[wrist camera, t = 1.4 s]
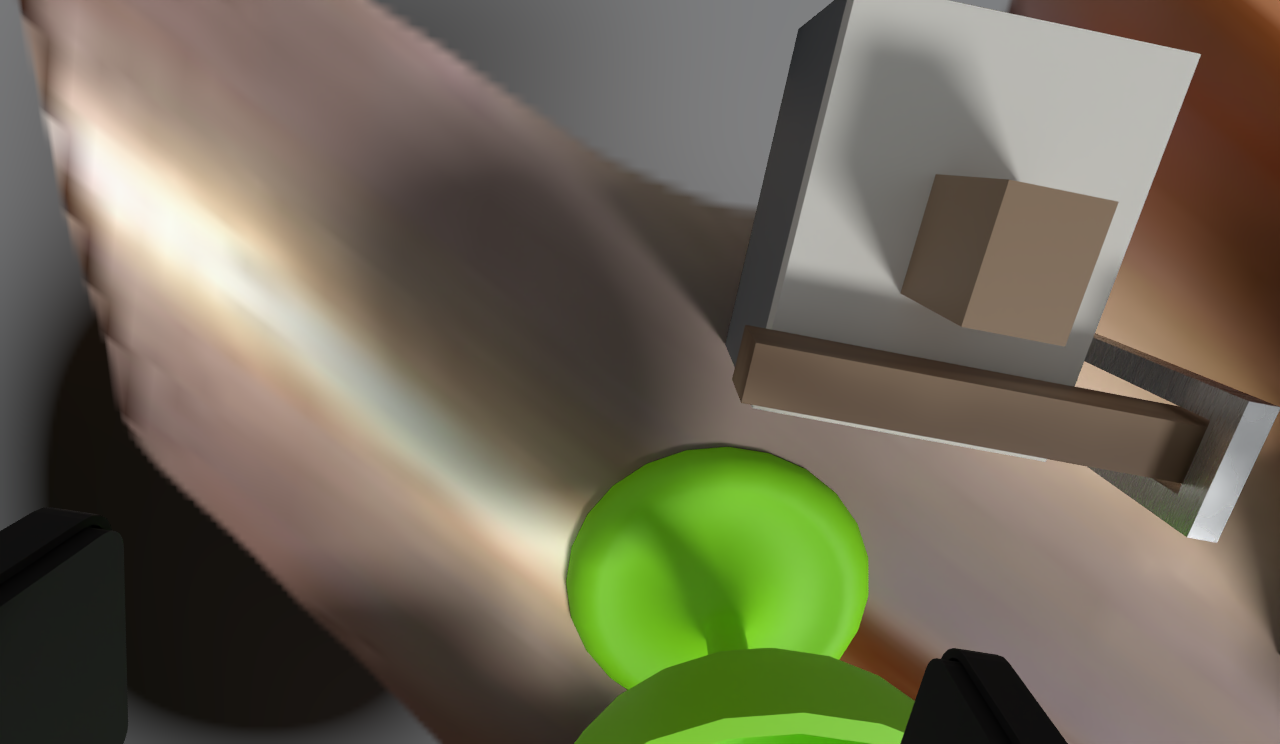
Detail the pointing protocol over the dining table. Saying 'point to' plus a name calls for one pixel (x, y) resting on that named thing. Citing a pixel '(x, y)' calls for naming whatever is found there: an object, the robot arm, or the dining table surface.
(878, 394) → the tan bar
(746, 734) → the wineglass
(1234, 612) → the dining table surface
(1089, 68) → the lid
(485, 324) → the dining table surface
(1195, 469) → the toolbox
